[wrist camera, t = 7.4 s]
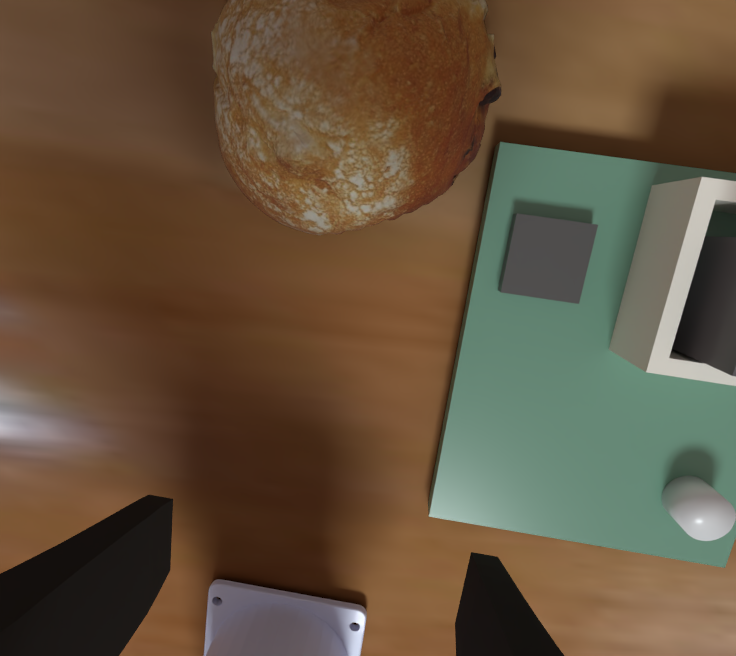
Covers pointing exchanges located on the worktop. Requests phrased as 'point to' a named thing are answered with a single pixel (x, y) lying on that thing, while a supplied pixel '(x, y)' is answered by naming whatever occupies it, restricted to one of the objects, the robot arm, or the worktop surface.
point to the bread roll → (350, 104)
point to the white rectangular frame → (668, 277)
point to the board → (578, 374)
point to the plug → (711, 307)
